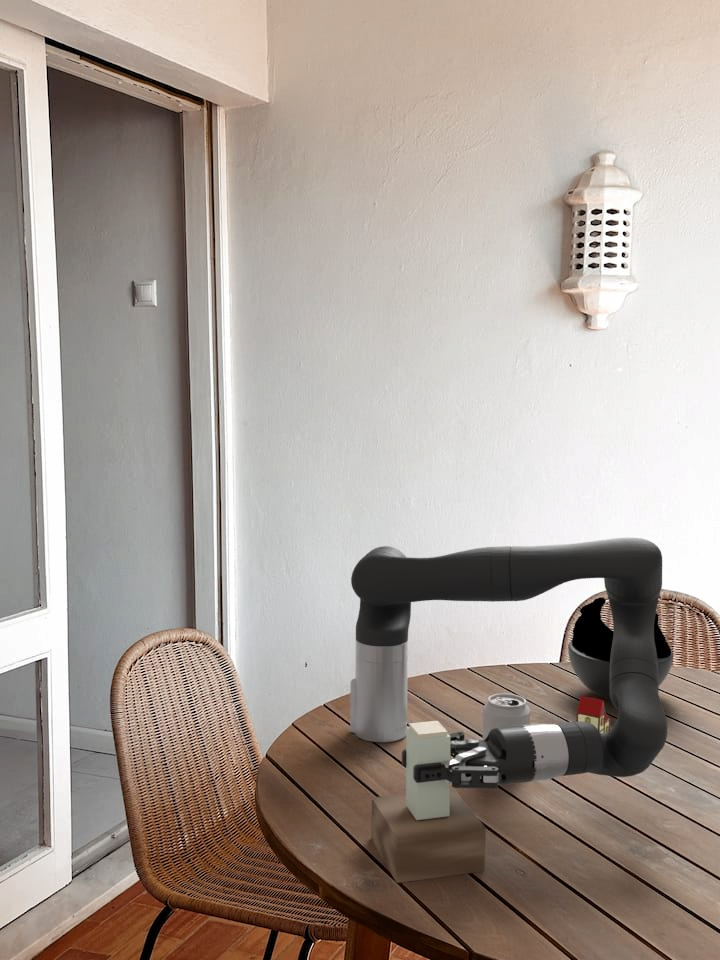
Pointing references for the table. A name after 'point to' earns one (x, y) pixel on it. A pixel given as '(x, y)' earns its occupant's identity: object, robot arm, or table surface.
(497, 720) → the can
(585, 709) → the toy house
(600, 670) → the coal bowl
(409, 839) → the walnut block
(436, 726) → the sage tin
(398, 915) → the table surface
